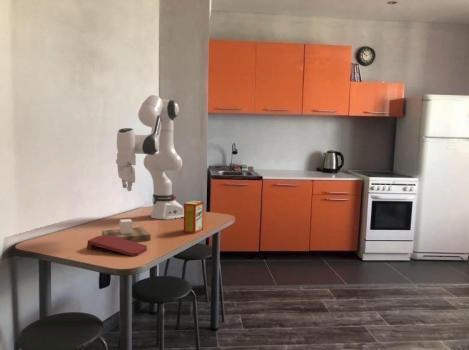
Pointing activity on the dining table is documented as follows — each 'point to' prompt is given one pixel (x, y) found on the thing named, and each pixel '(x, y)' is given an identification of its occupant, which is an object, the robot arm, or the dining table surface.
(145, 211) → the dining table surface
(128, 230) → the cream block
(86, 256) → the dining table surface
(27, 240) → the dining table surface
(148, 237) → the plinth
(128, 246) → the carton
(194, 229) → the baking soda box
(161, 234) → the dining table surface
